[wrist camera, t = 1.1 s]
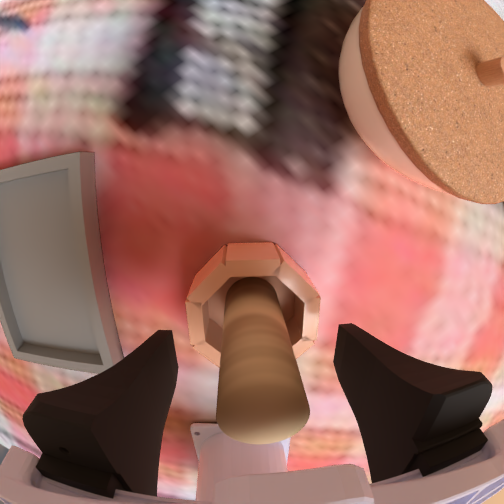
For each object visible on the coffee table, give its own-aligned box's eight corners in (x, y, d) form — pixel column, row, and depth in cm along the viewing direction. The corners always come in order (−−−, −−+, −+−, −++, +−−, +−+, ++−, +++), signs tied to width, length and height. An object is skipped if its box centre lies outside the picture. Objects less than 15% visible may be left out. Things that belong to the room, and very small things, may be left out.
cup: (302, 340, 19) (313, 370, 16) (200, 343, 18) (194, 374, 15) (308, 241, 17) (323, 257, 14) (191, 244, 17) (181, 261, 14)
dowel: (276, 322, 18) (305, 440, 9) (226, 324, 17) (220, 445, 9) (278, 275, 17) (314, 381, 8) (224, 277, 17) (212, 386, 8)
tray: (124, 360, 19) (116, 375, 17) (24, 346, 18) (14, 358, 17) (94, 152, 15) (79, 151, 13) (-11, 176, 14) (-27, 178, 13)
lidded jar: (369, 0, 13) (441, -73, 4) (477, 109, 15) (575, 101, 6) (276, 105, 15) (321, 35, 6) (409, 221, 17) (519, 268, 8)
